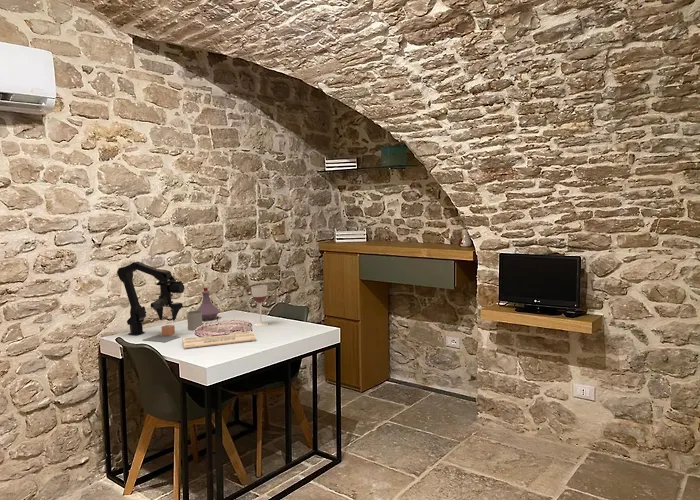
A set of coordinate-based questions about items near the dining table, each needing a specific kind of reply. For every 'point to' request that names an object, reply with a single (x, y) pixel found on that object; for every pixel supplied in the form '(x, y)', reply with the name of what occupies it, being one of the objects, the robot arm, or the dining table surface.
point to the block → (168, 330)
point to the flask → (207, 307)
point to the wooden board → (218, 339)
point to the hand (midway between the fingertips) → (167, 320)
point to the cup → (194, 319)
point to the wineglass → (259, 298)
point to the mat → (161, 338)
